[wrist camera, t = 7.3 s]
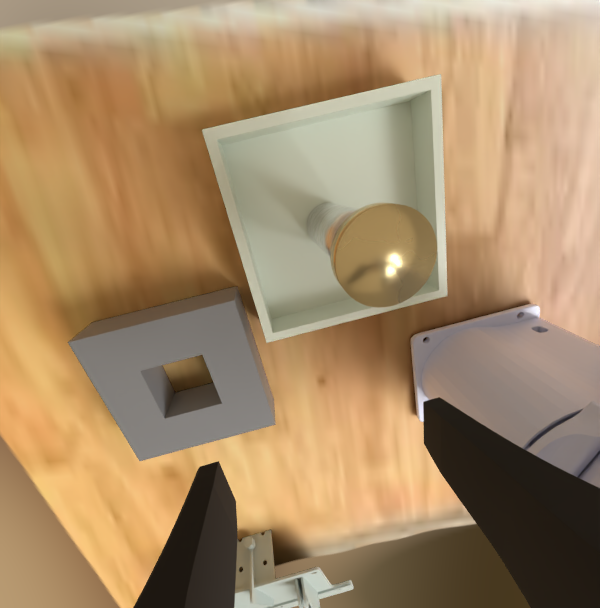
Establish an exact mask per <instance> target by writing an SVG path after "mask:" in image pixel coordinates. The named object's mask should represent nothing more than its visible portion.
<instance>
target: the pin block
mask: <svg viewBox="0 0 600 608" xmlns="http://www.w3.org/2000/svg"><path fill="white" fill-rule="evenodd" d="M68 344H69V345H70V347H71V349H72V350H73V352H74V354H75V355H76V357H77V358H78V360H79V362H80V363H81V365H82V367H83V368H84V370H85V372H86V373H87V375H88V377H89V378H90V380H91V382H92V383H93V385H94V387H95V388H96V390H97V392H98V393H99V395H100V396H101V398H102V400H103V401H104V403H105V405H106V406H107V408H108V410H109V411H110V413H111V415H112V416H113V418H114V420H115V421H116V423H117V425H118V426H119V428H120V429H121V431H122V433H123V434H124V436H125V438H126V439H127V441H128V443H129V444H130V446H131V448H132V449H133V451H134V453H135V454H136V456H137V458H138V459H139V461H142V460H146V459H150V458H153V457H157V456H161V455H164V454H168V453H172V452H175V451H179V450H183V449H187V448H190V447H194V446H198V445H201V444H205V443H209V442H213V441H216V440H220V439H224V438H227V437H231V436H235V435H239V434H242V433H246V432H250V431H253V430H257V429H261V428H264V427H268V426H272V425H276V424H275V410H274V399H273V395H272V392H271V389H270V386H269V383H268V380H267V377H266V374H265V371H264V367H263V364H262V361H261V358H260V355H259V352H258V349H257V346H256V343H255V340H254V336H253V333H252V330H251V327H250V324H249V321H248V318H247V315H246V312H245V308H244V305H243V302H242V299H241V296H240V293H239V290H238V287H237V286H235V287H231V288H227V289H223V290H219V291H215V292H211V293H207V294H203V295H200V296H196V297H192V298H188V299H184V300H180V301H176V302H172V303H168V304H164V305H160V306H156V307H152V308H148V309H144V310H140V311H136V312H132V313H128V314H124V315H120V316H116V317H112V318H108V319H104V320H100V321H96V322H92V323H91V324H90V325H89V326H87V327H86V328H85V329H84V330H82V331H81V332H80V333H79V334H78V335H76V336H75V337H74V338H73V339H72V340H70V341H69V342H68ZM200 355H202V356H203V358H204V360H205V363H206V365H207V368H208V370H209V373H210V375H211V377H212V380H213V382H214V383H210V384H206V385H202V386H199V387H195V388H191V389H187V390H183V391H180V392H176V393H175V391H174V389H173V387H172V385H171V383H170V381H169V379H168V377H167V375H166V373H165V370H164V368H163V366H162V365H165V364H169V363H172V362H176V361H180V360H184V359H188V358H192V357H196V356H200Z"/></svg>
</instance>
